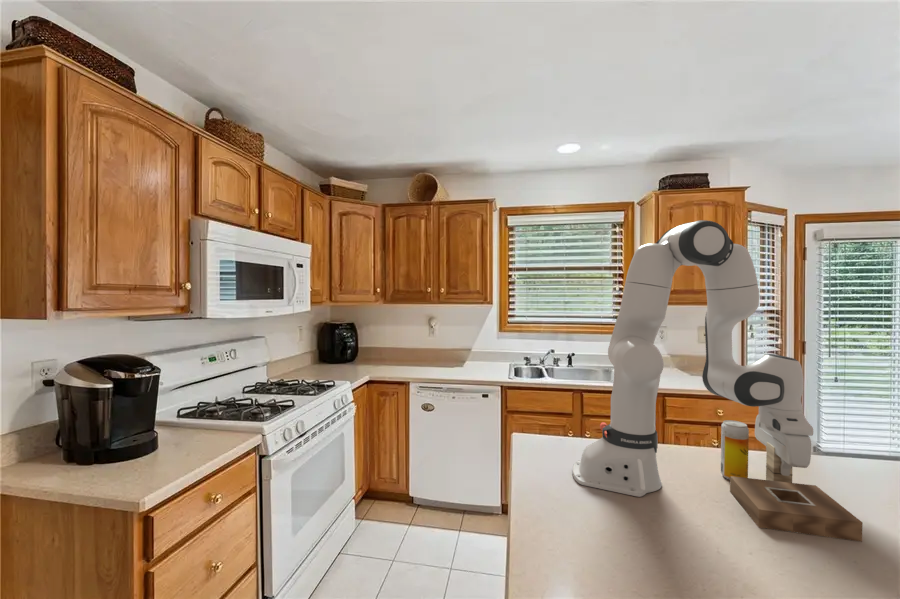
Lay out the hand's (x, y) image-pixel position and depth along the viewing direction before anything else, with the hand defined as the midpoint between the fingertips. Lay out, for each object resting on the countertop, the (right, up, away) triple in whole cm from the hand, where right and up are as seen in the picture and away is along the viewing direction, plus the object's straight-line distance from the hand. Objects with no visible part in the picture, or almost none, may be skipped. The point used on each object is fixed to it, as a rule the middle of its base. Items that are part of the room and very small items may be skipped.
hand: (778, 469), depth 105 cm
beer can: (-8, -5, +5) cm, 11 cm away
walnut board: (-8, -5, -12) cm, 15 cm away
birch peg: (0, -5, 0) cm, 5 cm away
